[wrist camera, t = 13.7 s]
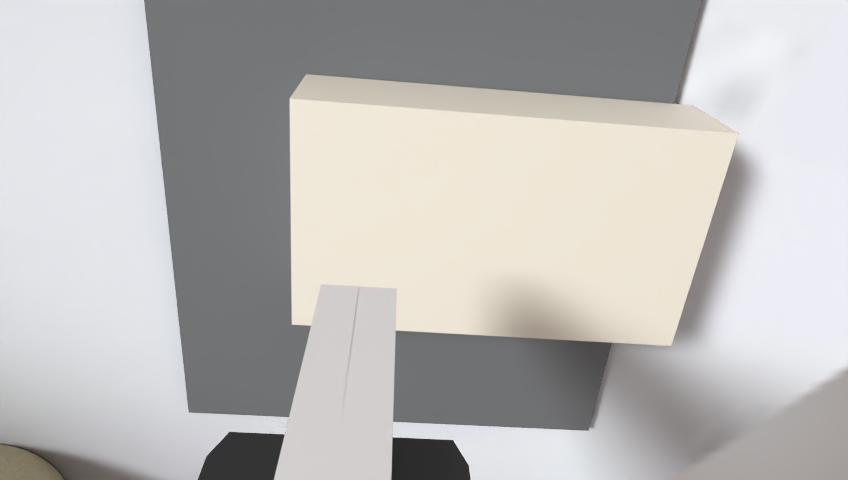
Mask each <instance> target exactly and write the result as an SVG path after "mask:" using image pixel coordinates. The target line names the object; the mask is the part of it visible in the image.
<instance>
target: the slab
mask: <svg viewBox="0 0 848 480" xmlns="http://www.w3.org/2000/svg"><path fill="white" fill-rule="evenodd" d="M738 135H739V133H737V132H735V131H734V130H732V129H731V128H729V127H727V126H726V125H724V124H722V123H721V122H719V121H718V120H716V119H714V118H713V117H711V116H710V115H708V114H706V113H705V112H703V111H701V110H700V109H698V108H697V107H695V106H693V105H682V104H670V103H657V102H645V101H633V100H620V99H608V98H595V97H583V96H571V95H558V94H546V93H533V92H521V91H509V90H496V89H484V88H471V87H459V86H447V85H434V84H422V83H409V82H397V81H385V80H372V79H360V78H347V77H335V76H323V75H310V74H306V75H305V77H304V78H303V80H302V81H301V82H300V84H299V85H298V87H297V88H296V90H295V91H294V93H293V94H292V96H291V97H290V197H291V299H292V325H307V326H311V324H312V320H313V316H314V312H315V308H316V304H317V299H318V295H319V291H320V287H321V284H327V285H343V286H360V287H377V288H394V289H397V301H396V331H414V332H432V333H449V334H467V335H485V336H503V337H520V338H538V339H556V340H574V341H591V342H609V343H627V344H645V345H663V346H671V345H672V342H673V339H674V336H675V333H676V329H677V326H678V323H679V320H680V317H681V314H682V311H683V308H684V304H685V301H686V298H687V295H688V292H689V289H690V286H691V282H692V279H693V276H694V273H695V270H696V267H697V264H698V260H699V257H700V254H701V251H702V248H703V245H704V242H705V238H706V235H707V232H708V229H709V226H710V223H711V220H712V216H713V213H714V210H715V207H716V204H717V201H718V198H719V195H720V191H721V188H722V185H723V182H724V179H725V176H726V173H727V169H728V166H729V163H730V160H731V157H732V154H733V151H734V147H735V144H736V141H737V138H738Z"/></svg>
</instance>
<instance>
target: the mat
mask: <svg viewBox="0 0 848 480" xmlns="http://www.w3.org/2000/svg"><path fill="white" fill-rule="evenodd" d="M701 1H702V0H144V2H145V11H146V21H147V30H148V39H149V48H150V57H151V67H152V76H153V85H154V94H155V104H156V113H157V122H158V131H159V141H160V150H161V159H162V168H163V178H164V187H165V196H166V205H167V215H168V224H169V233H170V242H171V252H172V261H173V270H174V279H175V289H176V298H177V307H178V316H179V326H180V335H181V344H182V353H183V363H184V372H185V381H186V390H187V400H188V409H189V412H193V413H215V414H237V415H258V416H280V417H289V415H290V411H291V407H292V403H293V399H294V394H295V390H296V386H297V382H298V378H299V374H300V370H301V366H302V361H303V357H304V353H305V349H306V345H307V341H308V337H309V332H310V328H311V326H307V325H292V299H291V197H290V97H291V96H292V94H293V93H294V91H295V90H296V88H297V87H298V85H299V84H300V82H301V81H302V80H303V78H304V77H305V75H306V74H310V75H323V76H335V77H347V78H360V79H372V80H385V81H397V82H409V83H422V84H434V85H447V86H459V87H471V88H484V89H496V90H509V91H521V92H533V93H546V94H558V95H571V96H583V97H595V98H608V99H620V100H633V101H645V102H657V103H670V104H675V100H676V96H677V92H678V88H679V85H680V81H681V77H682V73H683V69H684V66H685V62H686V58H687V54H688V50H689V47H690V43H691V39H692V35H693V31H694V28H695V24H696V20H697V16H698V12H699V9H700V5H701ZM610 347H611V343H609V342H591V341H574V340H556V339H538V338H520V337H503V336H485V335H467V334H449V333H432V332H414V331H396V336H395V370H394V405H393V422H412V423H434V424H456V425H478V426H500V427H522V428H544V429H566V430H589V426H590V423H591V419H592V415H593V411H594V407H595V404H596V400H597V396H598V392H599V388H600V385H601V381H602V377H603V373H604V369H605V366H606V362H607V358H608V354H609V350H610Z"/></svg>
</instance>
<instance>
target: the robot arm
mask: <svg viewBox="0 0 848 480" xmlns="http://www.w3.org/2000/svg"><path fill="white" fill-rule="evenodd" d="M396 301H397V289H394V288H377V287H360V286H343V285H327V284H321V287H320V291H319V295H318V299H317V304H316V308H315V312H314V316H313V320H312V324H311V328H310V332H309V337H308V341H307V345H306V349H305V353H304V357H303V361H302V366H301V370H300V374H299V378H298V382H297V386H296V390H295V394H294V399H293V403H292V407H291V411H290V415H289V419H288V423H287V428H286V432H285V435H282V434H260V433H238V432H229V433H228V434H227V435H226V436H225V438H224V439H223V440H222V441H221V442H220V443H219V444H218V445H217V446H216V447H215V448H214V449H213V450H212V451H211V452H210V453H209V455H208V456H207V457H206V460H205V462H204V465H203V467H202V470H201V473H200V475H199V478H198V480H470V473H469V466H468V464H467V462H466V461H465V459H464V457H463V456H462V454H461V453H460V451H459V449H458V448H457V446H456V444H455V443H454V441H453V440H435V439H413V438H393V405H394V370H395V336H396Z"/></svg>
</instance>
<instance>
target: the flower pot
mask: <svg viewBox="0 0 848 480" xmlns="http://www.w3.org/2000/svg"><path fill="white" fill-rule="evenodd" d="M0 480H64V478H63V477H62V475H61V474H60V473H59V472H58V471H57V470H56V469H55V468H54V467H53V466H52V465H51V464H50V463H48V462H47V461H46V460H44V459H42V458H41V457H39V456H37V455H36V454H33V453H31V452H29V451H27V450H24V449H21V448H17V447H13V446H8V445H0Z"/></svg>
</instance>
